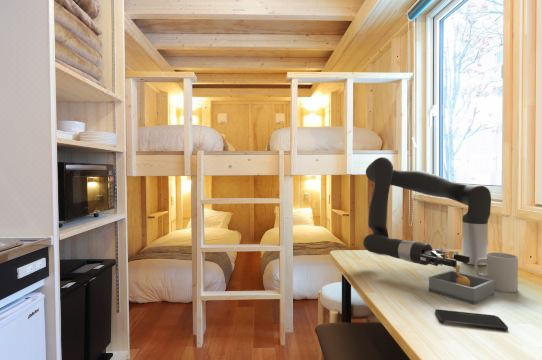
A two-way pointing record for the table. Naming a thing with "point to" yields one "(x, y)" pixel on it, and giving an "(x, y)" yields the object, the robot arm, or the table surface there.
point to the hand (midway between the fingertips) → (462, 261)
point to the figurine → (461, 278)
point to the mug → (500, 271)
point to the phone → (470, 320)
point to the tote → (461, 287)
